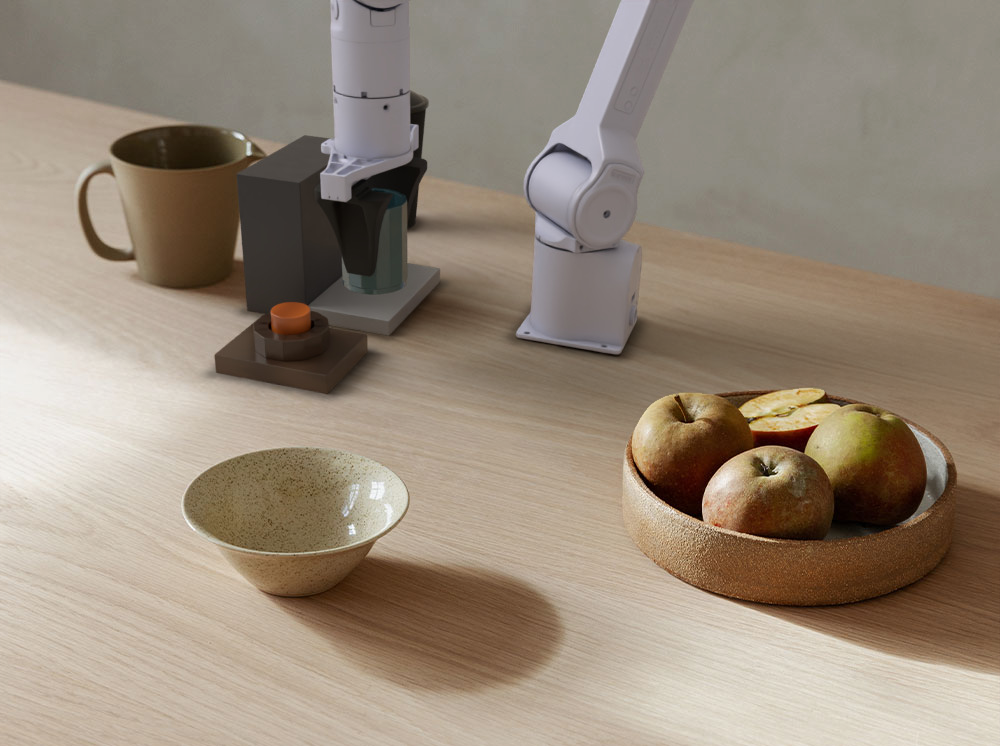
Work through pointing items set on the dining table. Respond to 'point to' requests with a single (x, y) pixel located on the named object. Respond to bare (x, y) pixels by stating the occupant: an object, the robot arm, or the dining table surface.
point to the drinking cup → (418, 118)
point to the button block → (293, 355)
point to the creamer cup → (386, 253)
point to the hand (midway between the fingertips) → (375, 259)
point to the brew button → (291, 318)
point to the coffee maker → (308, 246)
